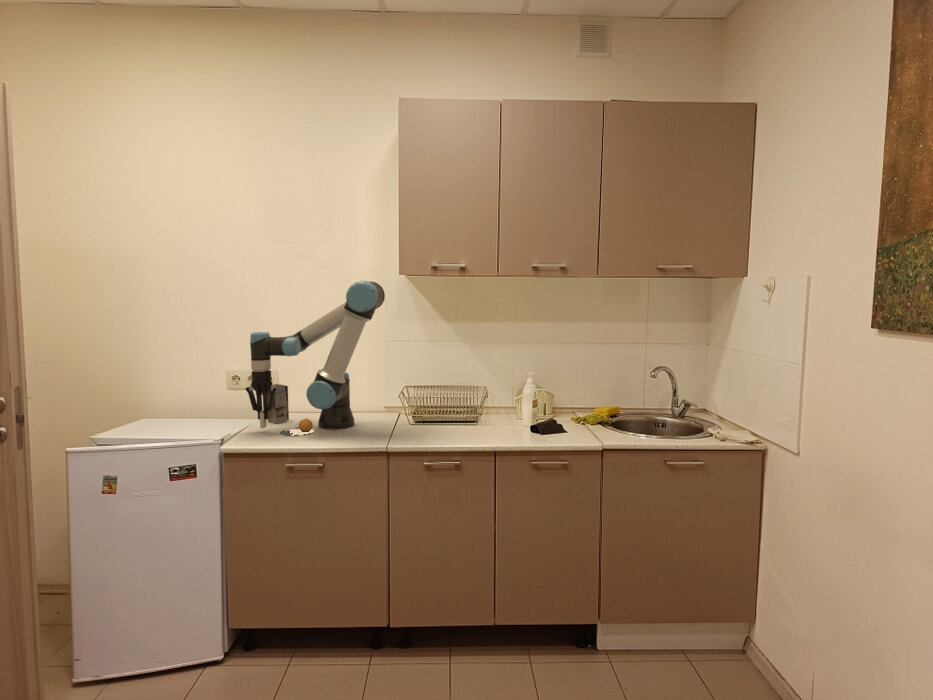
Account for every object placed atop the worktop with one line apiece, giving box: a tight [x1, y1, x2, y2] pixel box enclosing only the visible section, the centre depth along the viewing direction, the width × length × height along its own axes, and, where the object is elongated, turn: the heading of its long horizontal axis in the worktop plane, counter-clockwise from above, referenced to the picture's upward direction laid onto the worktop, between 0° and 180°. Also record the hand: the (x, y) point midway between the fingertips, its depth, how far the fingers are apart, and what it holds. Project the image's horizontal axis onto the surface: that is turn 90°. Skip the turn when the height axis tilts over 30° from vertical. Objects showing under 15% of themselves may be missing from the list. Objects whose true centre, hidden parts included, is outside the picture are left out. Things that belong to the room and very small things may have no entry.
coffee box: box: [266, 383, 290, 424], centre depth 257 cm, size 9×6×16 cm
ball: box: [298, 418, 314, 432], centre depth 238 cm, size 6×6×6 cm
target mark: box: [279, 428, 311, 437], centre depth 238 cm, size 14×14×1 cm
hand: (263, 427), depth 238 cm, fingers closed
